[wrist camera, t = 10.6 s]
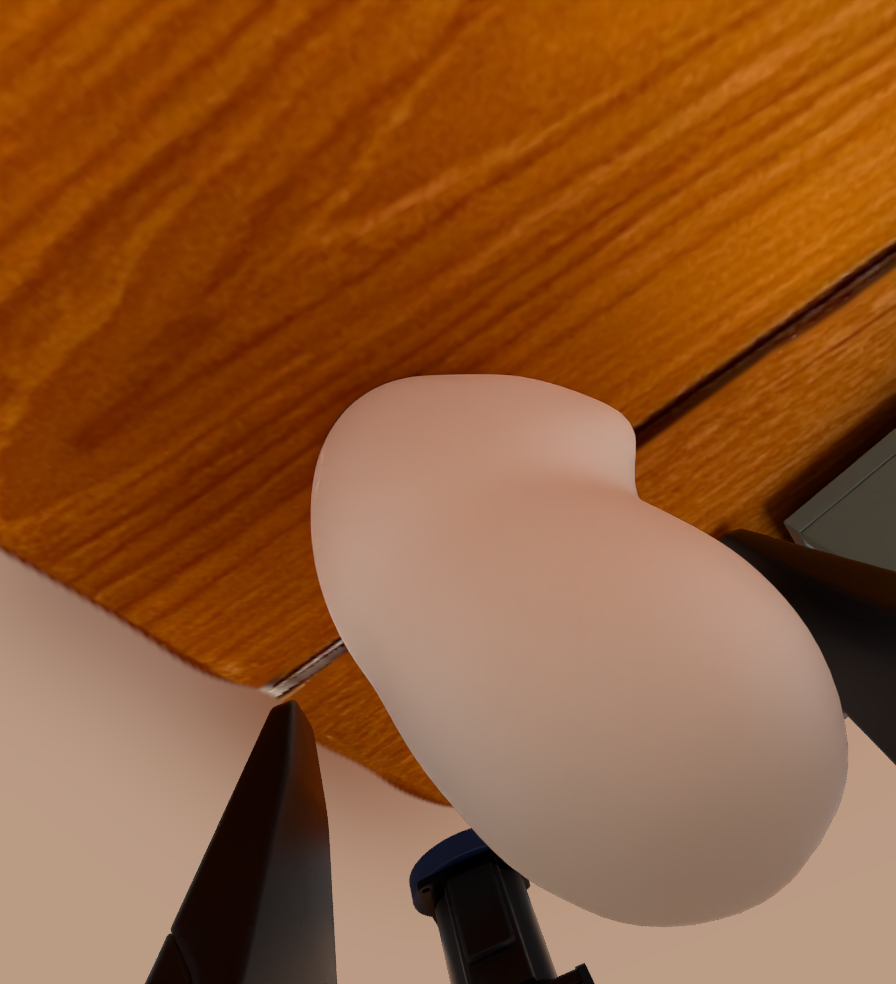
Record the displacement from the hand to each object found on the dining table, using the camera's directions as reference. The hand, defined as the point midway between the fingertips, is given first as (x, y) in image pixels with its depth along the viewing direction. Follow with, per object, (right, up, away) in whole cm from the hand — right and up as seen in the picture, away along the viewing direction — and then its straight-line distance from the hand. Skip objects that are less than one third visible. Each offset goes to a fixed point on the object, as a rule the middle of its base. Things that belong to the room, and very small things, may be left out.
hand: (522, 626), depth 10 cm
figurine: (-2, +3, +6) cm, 7 cm away
